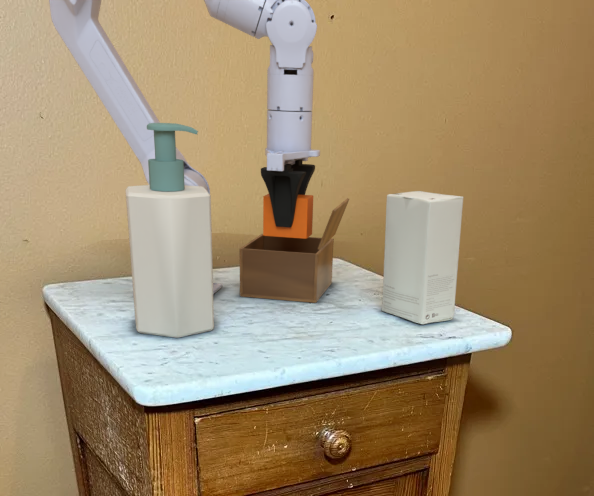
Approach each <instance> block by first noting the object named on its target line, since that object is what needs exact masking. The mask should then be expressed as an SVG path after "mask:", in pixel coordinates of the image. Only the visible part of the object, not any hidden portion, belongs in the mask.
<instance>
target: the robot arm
mask: <svg viewBox="0 0 594 496" xmlns="http://www.w3.org/2000/svg"><path fill="white" fill-rule="evenodd" d="M48 2H49V11H50V18H51V22H52V24H53V27H54V29H55V30H56V32H57V34H58V35H59V37H60V38H61V40H62V41H63V44H64V45H65V46H66V48H67V49H68V51H69V52H70V54H71V56H72V58H73V59H74V60H75V62H76V63H77V65H78V68H80V70H81V72H82V73H83V75H84V76H85V78H86V79H87V81H88V82H89V84H90V86H91V87H92V89H93V91H94V92H95V93H96V95H97V96H98V98H99V100H100V101H101V103H102V105H103V106H104V108H105V109H106V111H107V113H108V115H109V116H110V118H111V119H112V120H113V122H114V124H115V125H116V127H117V129H118V130H119V132H120V133H121V135H122V136H123V138H124V140H125V141H126V143H127V144H128V146H129V147H130V149H131V150H132V152H133V154H134V155H135V156H136V158H137V160H138V161H139V163H140V165H141V168H142V171H143V175H144V178H145V181H146V183H147V185H150V184H149V167H148V160H149V159H155V146H154V130H148V129H147V125H148V124H149V123H161V122H160V120H159V118H158V116H157V115H156V113H155V112H154V110H153V108H152V106H151V105H150V103H149V102H148V100H147V98H146V97H145V95H144V94H143V92H142V91H141V89H140V87H139V85H138V84H137V82H136V81H135V79H134V76H133V75H132V74H131V72H130V70H129V69H128V67H127V65H126V64H125V62H124V61H123V59H122V57H121V56H120V54H119V52H118V50H117V49H116V48H115V46H114V44H113V43H112V41H111V39H110V38H109V36H108V34H107V33H106V31H105V30H104V27H103V26H102V24H101V23H100V20H99V15H100V11H101V5H102V0H48ZM203 2H204V4H205V7H206V9H207V11H208V15H209V16H210V17H211V18H213V19H216V20H218V21H220V22H222V23H224V24H225V25H228V26H230V27H232V28H234V29H237V30H238V31H239V32H243V33H244V34H247V35H249V36H251V37H252V38H255V39H257V40H261V39H262V38H265V37H267V38H268V40H269V42H270V45H269V66H268V67H267V69H266V71H267V72H266V73H267V75H266V76H267V79H266V80H267V81H266V109H267V110H266V147H265V149H264V155H265V156H266V166H263V167H261V168H260V175H261V178H262V180H263V182H264V184H265V187H266V189H267V192H268V194H269V196H270V200H271V205H272V210H273V216H274V221H275V224H276V227H289V228H290V227H292V224H293V220H294V215H295V209H296V202H297V197H298V194H299V195H306V194H307V193H306V192H307V189H308V186H309V183H310V181H311V179H312V177H313V175H314V172H315V170H316V165H315V164H312V163H311V164H310V163H309V164H308V163H303V162H307V161H309V159H310V158H318V157H321V150H320V149H313V148H312V133H313V131H312V129H313V128H312V127H313V107H314V104H313V103H314V76H315V72H314V71H315V70H314V68H313V63H314V50H313V46H312V45H311V44H312V43H313V42H314V40H315V37H316V35H317V30H318V24H317V22H316V15H315V12H314V10H313V8H312V6H311V5H310V4H309V3H308V1H306V0H203ZM176 159H180V160H183V161H184V185H187V186H200V187H204V188H205V189H206V190H207V192H208V193H209V194H210V195H211V188H210V185H209V182H208V179H206V177H205V176H204V174H202V173H201V172H200V171H198V170H197V169H195V168H193V167H192V166H191V164H190V163H189V162H188V161H187V159H186V158H185V156H184V154H183V153H182V152H181V151H180V149H179V148H178V147H176ZM211 228H212V229H213V227H212V226H211ZM212 267H213V264H212ZM213 268H214V267H213ZM222 288H223V283H217V282H213V295H214V294H215V293H217V292H218V291H219V290H221V289H222Z"/></svg>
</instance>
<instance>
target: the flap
mask: <svg viewBox="0 0 594 496" xmlns="http://www.w3.org/2000/svg"><path fill="white" fill-rule="evenodd" d="M349 201H350V198H348V197H347V198H346V199H344V200H343V201H342V202H341V203H340V204H338V205H337V206H336V207H335V208H334V209H332V211H331V214H330V216H329V219H328V221H327V223H326V225H325V226H326V227H325V229H324V231H323V233H322V237H321V238H322V239H321V241H320V244H319V247H318V249H319V250H320V249H321V248H322V247H323V246H324V245H325V244H326V243H327V242H328V241H329V240H330V239H333V237H335V235H336V234H337V232H338V228H339V227H340V223H341V221H342V219H343V216H344V213H345V211H346V209H347V206H348V203H349Z"/></svg>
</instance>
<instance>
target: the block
mask: <svg viewBox="0 0 594 496" xmlns="http://www.w3.org/2000/svg"><path fill="white" fill-rule="evenodd" d="M262 197H263V200H262V203H263V206H262V208H263V209H262V211H263V212H262V215H263V216H262V218H263V219H262V222H263V223H262V227H263V228H262V234H263V236H273V237H287V238H301V239H307V238H308V237H312V235H313V222H314V221H313V219H314V218H313V217H314V195H312V194H305V195H299V194H298V197H297V202H296V209H295V215H294V220H293V224H292V227H290V228H289V227H276V224H275V221H274V216H273V210H272V205H271V200H270V196H269V193H267V194H265V195H263V196H262Z"/></svg>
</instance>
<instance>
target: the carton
mask: <svg viewBox="0 0 594 496" xmlns="http://www.w3.org/2000/svg"><path fill="white" fill-rule="evenodd" d="M321 239H322V237H316V236H309V237H308V238H307V239H301V238H287V237H273V236H263V233H260V235H257V236H256V237H255V238H254V239H252V240H250V241H249V242H247V243H246V244H244V245H242V246H241V247H240V248H239V297H241V298H254V299H255V298H256V299H266V300H277V301H289V302H299V303H301V302H302V303H312V304H313V303H314V304H317V302H318V301H319V300H320V299H321V297H322V296H323V295H324V293H325V292H326V291H327V290H328V289H329V287H330V286H331V285H332V283H333V262H334V242H335V240H334V238H331V239H330V240H329V241H328V242H327V243H326V244H325V245H324V246H323V247H322V248H321V249H320V250H319V249H318V247H319V244H320V241H321Z"/></svg>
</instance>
